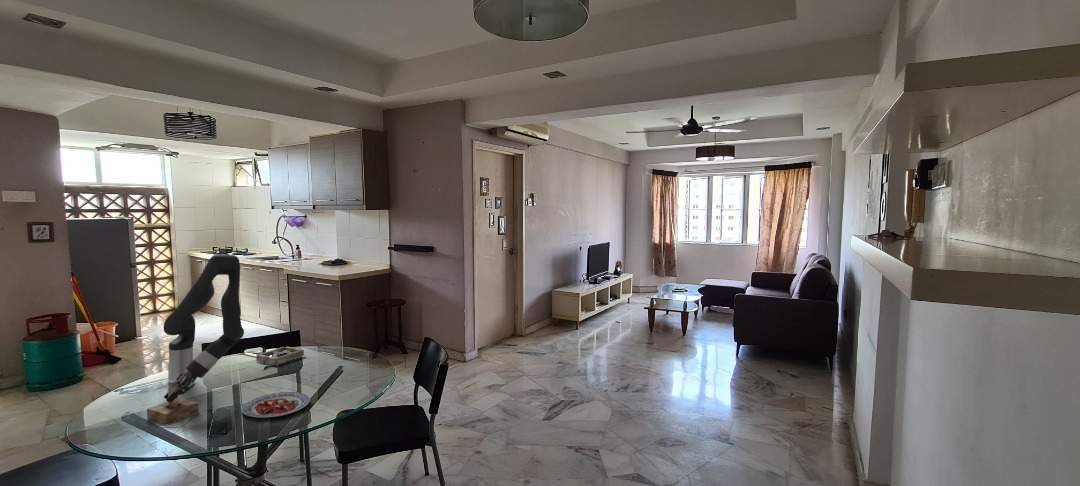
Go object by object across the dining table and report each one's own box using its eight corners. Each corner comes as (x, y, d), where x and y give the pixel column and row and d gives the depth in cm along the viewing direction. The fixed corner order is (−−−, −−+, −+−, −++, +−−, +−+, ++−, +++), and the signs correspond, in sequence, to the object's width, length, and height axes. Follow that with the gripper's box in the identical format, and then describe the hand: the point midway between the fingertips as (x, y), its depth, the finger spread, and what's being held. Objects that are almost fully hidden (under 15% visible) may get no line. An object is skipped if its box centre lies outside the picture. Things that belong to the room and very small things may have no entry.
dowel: (166, 411, 188) (166, 382, 188) (175, 408, 192) (174, 379, 191) (171, 412, 187) (171, 383, 187) (180, 409, 190) (179, 381, 190)
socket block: (147, 418, 186) (147, 408, 186) (179, 407, 197) (179, 397, 197) (167, 424, 182) (167, 414, 182) (198, 412, 193) (198, 402, 193)
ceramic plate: (238, 426, 184) (238, 419, 184) (245, 401, 207) (245, 394, 206) (310, 415, 196) (310, 408, 196) (309, 393, 219) (309, 386, 218)
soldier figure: (266, 366, 252) (263, 354, 261) (273, 370, 255) (270, 358, 264) (278, 356, 254) (275, 344, 262) (285, 360, 257) (281, 348, 266)
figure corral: (256, 362, 255) (256, 355, 255) (285, 352, 273) (285, 346, 272) (275, 366, 250) (275, 359, 250) (303, 356, 268) (303, 349, 267)
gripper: (190, 355, 198) (154, 390, 190) (200, 363, 189) (162, 400, 181) (205, 364, 203) (170, 399, 194) (215, 372, 194) (179, 409, 185)
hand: (167, 399), depth 188 cm, fingers closed on dowel, 3 cm apart
